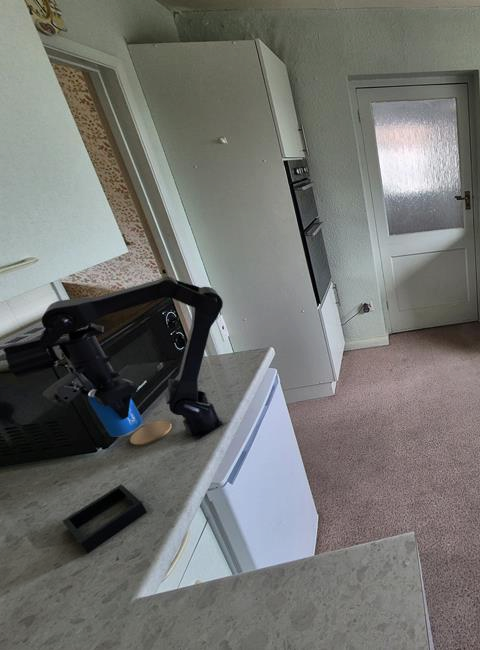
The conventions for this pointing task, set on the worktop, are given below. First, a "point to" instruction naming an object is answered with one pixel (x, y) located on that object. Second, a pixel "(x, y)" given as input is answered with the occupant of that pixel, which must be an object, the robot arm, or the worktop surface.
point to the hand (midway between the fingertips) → (118, 414)
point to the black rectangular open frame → (111, 526)
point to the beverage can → (116, 418)
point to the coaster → (150, 433)
